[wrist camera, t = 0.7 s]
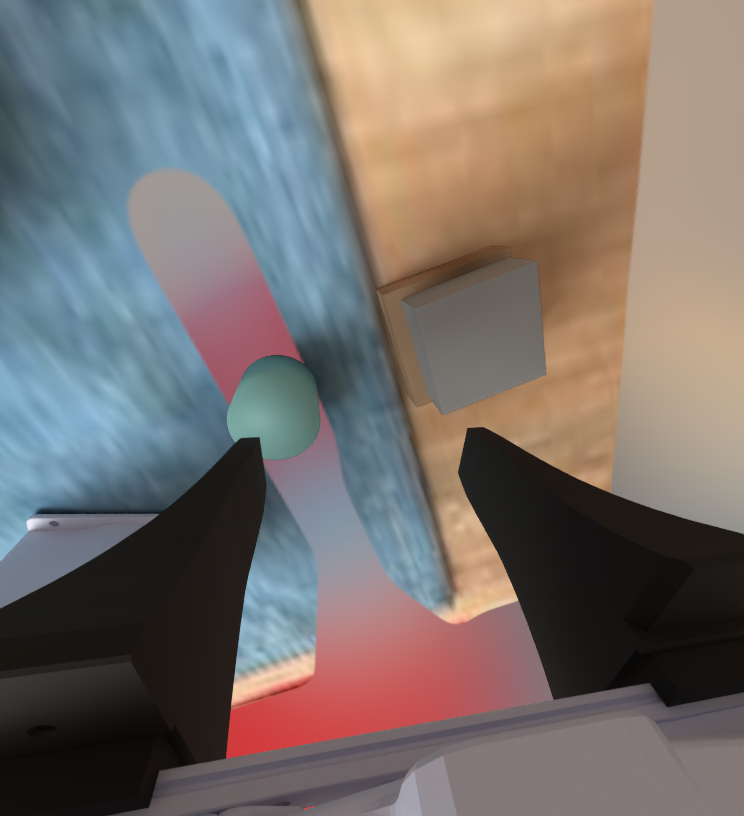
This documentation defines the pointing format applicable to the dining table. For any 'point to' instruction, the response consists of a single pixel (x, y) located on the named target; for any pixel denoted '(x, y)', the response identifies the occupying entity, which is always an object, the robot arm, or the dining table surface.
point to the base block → (415, 284)
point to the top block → (478, 333)
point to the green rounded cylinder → (276, 407)
